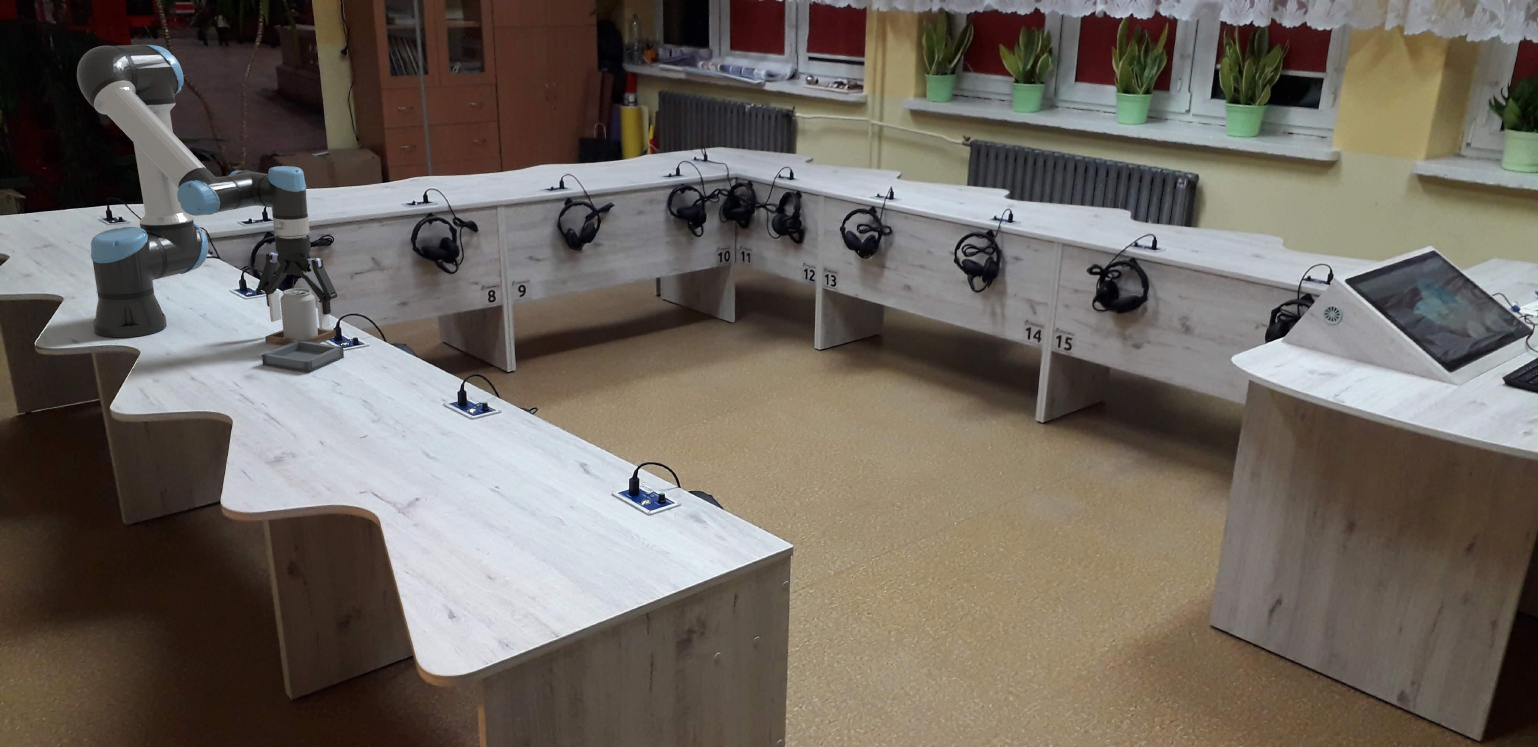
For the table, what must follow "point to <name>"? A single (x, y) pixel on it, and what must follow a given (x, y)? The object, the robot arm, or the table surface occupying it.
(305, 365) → the tray
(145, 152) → the robot arm
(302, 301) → the can
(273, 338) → the frame
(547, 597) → the table surface
